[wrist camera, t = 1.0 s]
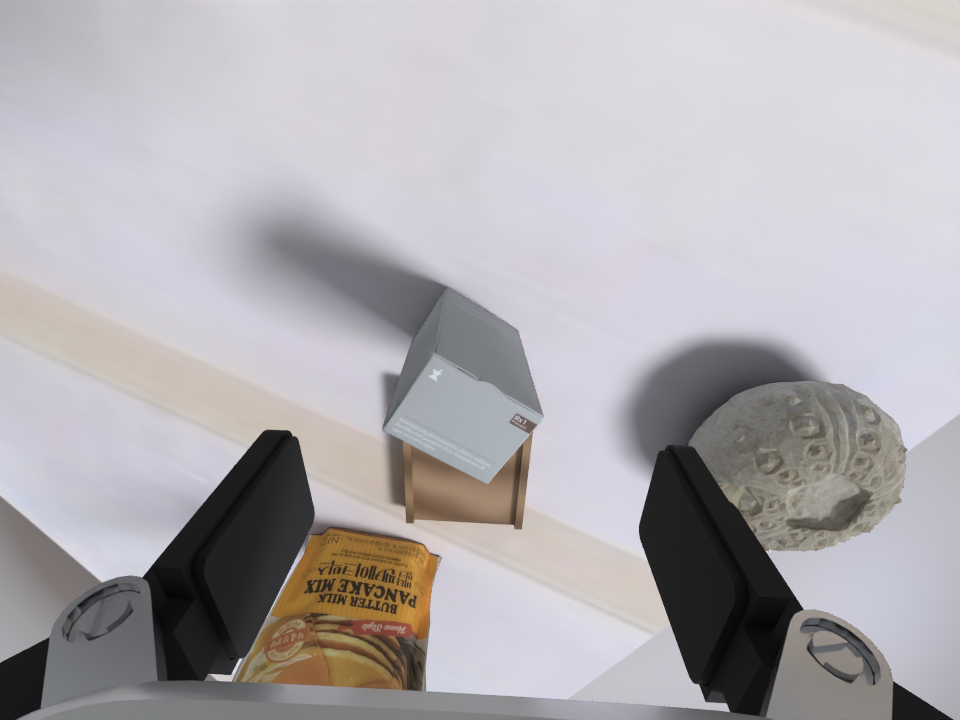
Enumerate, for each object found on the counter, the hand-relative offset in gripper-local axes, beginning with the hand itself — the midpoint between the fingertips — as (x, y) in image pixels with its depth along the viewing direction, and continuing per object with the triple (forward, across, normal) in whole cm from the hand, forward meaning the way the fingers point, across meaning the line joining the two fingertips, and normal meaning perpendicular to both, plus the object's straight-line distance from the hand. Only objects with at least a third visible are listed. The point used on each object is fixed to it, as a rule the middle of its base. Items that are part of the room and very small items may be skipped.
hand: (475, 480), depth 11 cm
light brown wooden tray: (+28, +2, +22) cm, 35 cm away
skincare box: (+28, +2, +8) cm, 29 cm away
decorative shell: (+28, -28, +19) cm, 44 cm away
